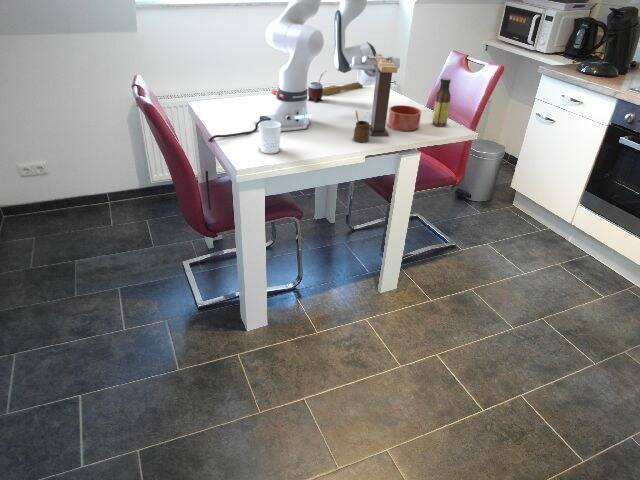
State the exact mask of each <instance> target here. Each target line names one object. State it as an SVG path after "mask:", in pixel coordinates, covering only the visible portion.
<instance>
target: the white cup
mask: <svg viewBox="0 0 640 480" xmlns="http://www.w3.org/2000/svg"><path fill="white" fill-rule="evenodd" d="M258 132H259V133H258V134H259V143H260V151H261V152H262V153H264V154H277V153H278V152H279V151H280V145H281V132H282V131H281V123H279V122H277V121H270V120H268V121H262V122H260V123H259V126H258Z"/></svg>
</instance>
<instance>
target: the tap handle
mask: <svg viewBox="0 0 640 480" xmlns="http://www.w3.org/2000/svg"><path fill="white" fill-rule="evenodd" d="M363 86H364V85H361V84H360V83H359V82H358V81H357V82H356V81H355V82H351V83H348V84H344V85H329V86H324V87H323V94H322V96H323V95H324V96H331V95H335V94H339V92H341V91H346V90H347V91H348V90H354V89H358V88H359V89H360V88H363Z"/></svg>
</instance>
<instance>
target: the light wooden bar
mask: <svg viewBox="0 0 640 480" xmlns="http://www.w3.org/2000/svg"><path fill="white" fill-rule="evenodd" d="M385 58H386V57H385ZM385 58H384V56H383V54H381V53H376V56H375V59H376V60H377V62H378V69H379V70H380V71H381V72H389V73H392V74H397V73H398V70H399V68H398V67H397V66H396V65H395V64H394V63H389V62H388V61H387V60H386V59H385Z"/></svg>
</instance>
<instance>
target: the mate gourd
mask: <svg viewBox="0 0 640 480" xmlns="http://www.w3.org/2000/svg"><path fill="white" fill-rule="evenodd" d="M326 72H327V70H325V71H323V72H322V73H320V75H319V79H318V82H317V81H314V82H313V81H312V82H310V83H309V84H308V86H307V90H308V94H307V97H308V101H311V102H312V101H313V102H314V103H317V102H318V101H319V102H321V101H322V97H323V95H324V94H323V88H324V87H323V85H322V83H321V79H322V77H323V75H324V74H325V73H326ZM322 94H323V95H322Z"/></svg>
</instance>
